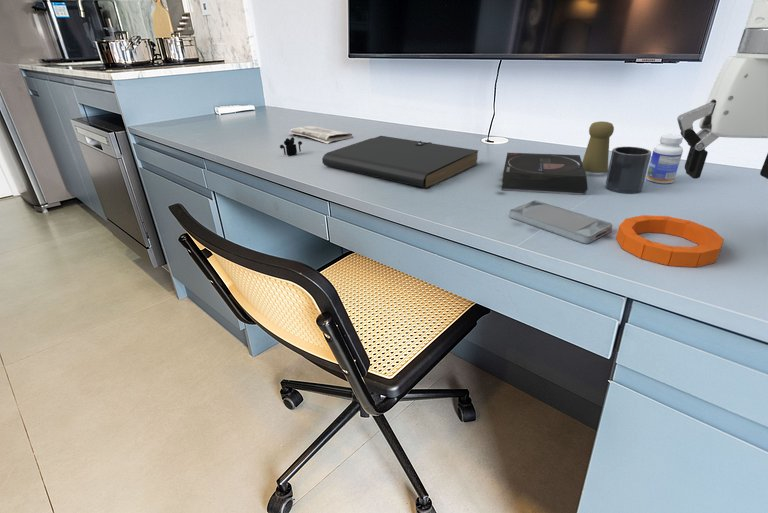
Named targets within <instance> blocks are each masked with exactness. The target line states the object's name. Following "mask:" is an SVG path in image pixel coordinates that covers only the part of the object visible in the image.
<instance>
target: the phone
mask: <svg viewBox="0 0 768 513" xmlns="http://www.w3.org/2000/svg"><path fill="white" fill-rule="evenodd" d="M509 218H510V219H513V220H516V221H518V222H521V223H525V224H527V225H530V226H532V227H536V228H538V229H541V230H543V231H547V232H550V233H552V234H555V235H558V236H561V237H564V238H566V239H568V240H569V239H570V240H572V241H575V242H577V243H581V244H585V245H588V244H591V243H593V242H595V241H596V240H598V239H600V238H602V237H603V236H605V235H608V234H609V233H611V231H612V229H613V223H611V222H609V221H606V220H601V219H600V218H599V219H598V218H595V217H592V216H589V215H587V214H582V213H579V212H575V211H573V210H569V209H567V208H566V209H565V208H562V207H560V206H556V205H553V204H549V203H546V202H543V201H539V200H532V201H529V202H526V203H523V204H521V205H519V206H517V207H513V208H511V209H510V210H509Z"/></svg>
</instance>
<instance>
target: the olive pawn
mask: <svg viewBox="0 0 768 513" xmlns="http://www.w3.org/2000/svg"><path fill="white" fill-rule="evenodd" d="M614 131H615V126H614V124H613V123H611V122H609V121H594V122H593V123H591V124H590V126H589V129H588V135H590V137H589V140H588V143H587V146H586V149H585V153H584V156H583V159H582V164H583V167H584V170H585V172H589V173H605V172H608V169H609V155H610V153H609V152H610V138H611V136H613V134H614Z"/></svg>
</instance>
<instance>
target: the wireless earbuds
mask: <svg viewBox="0 0 768 513" xmlns="http://www.w3.org/2000/svg"><path fill="white" fill-rule="evenodd" d="M297 144H298V149H297ZM297 144H296V143H295V138H294V137H293V136H292V137H290V138H288V137H287V138H285V140H284V141H283V144H280V145H279V148H280V149H281V150H283V154H284V156H286V155H287V156H290V157H291V156H294V155H295V156H296V155H297V153H298V151H299V153H301V152H302V149H301V145H303V142H302V140H299V141H297Z"/></svg>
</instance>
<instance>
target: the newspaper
mask: <svg viewBox="0 0 768 513" xmlns="http://www.w3.org/2000/svg"><path fill="white" fill-rule="evenodd" d="M287 133H288V134H292V135H297V136H302V137H307V138H309V139H313V140H316V141H319V142H322V143H325V144H327V145H328V144H329V143H332V142H334V141H341V140H342V141H343V140H348V139H350V138H352V136H353V133H349V132H344V131H340V130H335V129H330V128H324V127H319V126H314V125H310V126H309V125H308V126H307V125H306V126H299V127H298V126H297V127H294V128H291V129H290V131H287Z"/></svg>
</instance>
